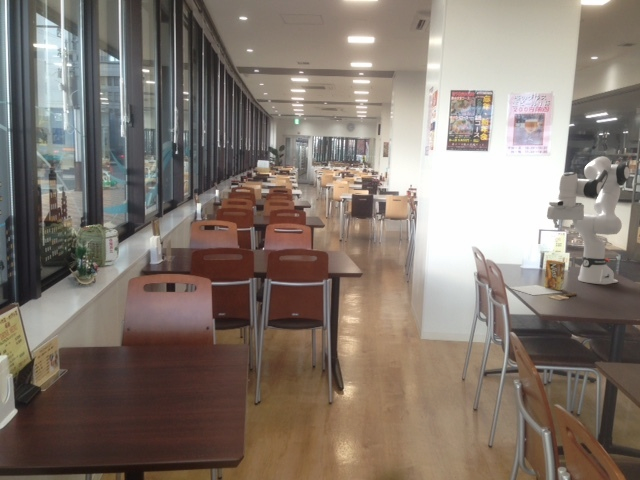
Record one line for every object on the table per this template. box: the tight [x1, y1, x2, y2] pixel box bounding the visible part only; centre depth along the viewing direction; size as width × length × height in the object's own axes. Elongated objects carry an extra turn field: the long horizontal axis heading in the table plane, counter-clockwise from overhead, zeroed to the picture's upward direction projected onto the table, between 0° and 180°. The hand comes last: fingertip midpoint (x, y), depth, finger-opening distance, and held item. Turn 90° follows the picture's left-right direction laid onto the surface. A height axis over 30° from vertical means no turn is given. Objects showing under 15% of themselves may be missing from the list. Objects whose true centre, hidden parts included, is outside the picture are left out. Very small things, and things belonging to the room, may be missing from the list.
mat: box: [508, 284, 563, 296], centre depth 312 cm, size 20×18×1 cm
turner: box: [548, 291, 578, 301], centre depth 299 cm, size 18×6×1 cm, turn 124°
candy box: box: [544, 259, 566, 291], centre depth 317 cm, size 9×4×15 cm, turn 43°
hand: (564, 227), depth 318 cm, fingers open, 8 cm apart
